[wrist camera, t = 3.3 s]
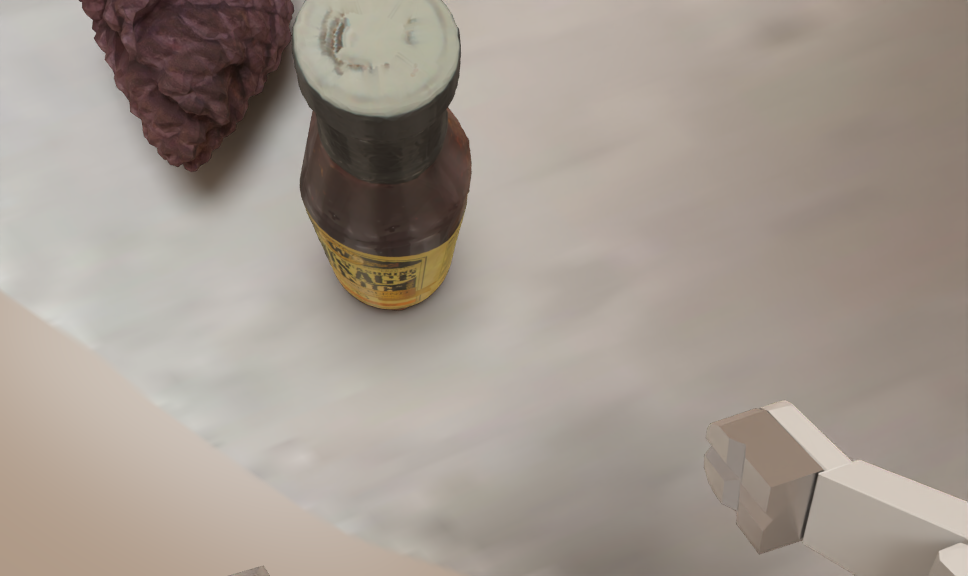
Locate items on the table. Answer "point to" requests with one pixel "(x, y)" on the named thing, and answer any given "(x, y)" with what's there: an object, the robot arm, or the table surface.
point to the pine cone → (190, 65)
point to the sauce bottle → (383, 143)
